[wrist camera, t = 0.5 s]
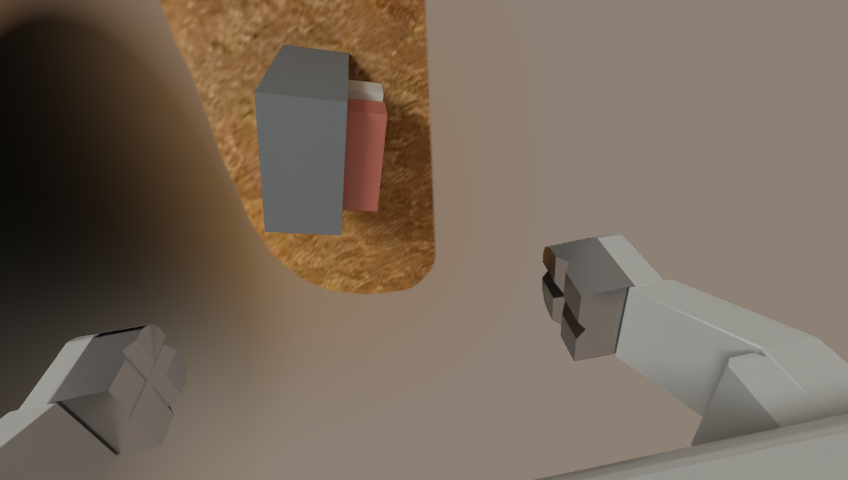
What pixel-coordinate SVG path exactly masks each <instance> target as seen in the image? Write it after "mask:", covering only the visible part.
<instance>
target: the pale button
mask: <svg viewBox="0 0 848 480" xmlns="http://www.w3.org/2000/svg"><path fill="white" fill-rule="evenodd" d="M383 94H384V93H383V88H382V84H381V83H373V82H364V81H356V80H348V98H351V99H360V100H369V101H378V102H383Z"/></svg>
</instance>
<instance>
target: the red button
mask: <svg viewBox="0 0 848 480" xmlns="http://www.w3.org/2000/svg"><path fill="white" fill-rule="evenodd" d="M386 125H387V110H386V104H385V102H378V101H369V100H360V99H351V98H348V103H347V124H346V144H345V165H344V185H343V206H342V209H343V210H360V211H378V201H379V191H380V182H381V172H382V163H383V153H384V144H385V134H386Z"/></svg>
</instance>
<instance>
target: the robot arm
mask: <svg viewBox="0 0 848 480" xmlns="http://www.w3.org/2000/svg"><path fill="white" fill-rule="evenodd" d="M543 263H544V265H545V266H546V268H547V270H548V271H547V272H546V274H545V275H544V276H543V278H542V291H543V296H544V301H545V304H546V307H547V310H548V312H549V314H550V316H551V318H552V320H554V321H555V322H557V323H559V324H561V337H562V339H563V341H564V343H565V345H566V347H567V349H568V351H569V352H570V354H571V356H572V358H573V360H574V361H577V360H583V359H589V358H594V357H600V356H606V355H611V354H616V357H618V358H619V359H621V360H622V361H624V362H625V363H627V364H628V365H629V366H631V367H632V368H633V369H635V370H636V371H638V372H639V373H641V374H642V375H643V376H645V377H646V378H648V379H649V380H651V381H652V382H654V383H655V384H656V385H658V386H659V387H661V388H662V389H663V390H665V391H666V392H668V393H669V394H671V395H672V396H674V397H675V398H676V399H678V400H679V401H680V402H682V403H683V404H685V405H686V406H688V407H689V408H691V409H692V410H693V411H695V412H696V413H698V414H699V415H701V416H702V417H703V418H702V420H701V422H700V425H699V427H698V429H697V431H696V434H695V436H694V438H693V442H692V444H691V446H692V447H687V448H682V449H677V450H673V451H668V452H663V453H659V454H654V455H649V456H644V457H640V458H635V459H631V460H626V461H621V462H616V463H612V464H607V465H602V466H598V467H593V468H588V469H583V470H578V471H574V472H569V473H564V474H560V475H555V476H550V477H545V478H541V479H536V480H848V364H847V363H846V362H845V361H844V360H842V359H841V358H840V357H839V356H838V355H837V354H835V353H834V352H833V351H832V350H831V349H830V348H829V347H827V346H826V345H825V344H824V343H823V342H821V341H820V340H819V339H818V338H816V337H814V336H811V335H809V334H806V333H804V332H801V331H799V330H796V329H794V328H791V327H789V326H786V325H784V324H781V323H779V322H777V321H774V320H772V319H769V318H766V317H764V316H761V315H759V314H757V313H754V312H752V311H749V310H747V309H744V308H741V307H739V306H736V305H734V304H732V303H729V302H727V301H724V300H722V299H719V298H717V297H714V296H712V295H709V294H706V293H704V292H702V291H699V290H697V289H694V288H692V287H689V286H686V285H684V284H682V283H679V282H677V281H674V280H666V281H664V280H663V279H662V278H661V277H660V276H659V275H658V273H657V272H656V271H655V270H654V269H653V268H652V267H651V266H650V265H649V264H648V263H647V262H646V261H645V259H644V258H643V257H642V256H641V255H640V254H639V253H638V252H637V251H636V250H635V249H634V247H632V245H631V244H630V243H629V242H628V241H627V240H626V239H625V238H624V237H623V236H622V235H621V234H620V233H618V232H612V233H607V234H602V235H598V236H593V237H592V238H586V239H581V240H576V241H571V242H566V243H562V244H557V245H552V246H547V247H545V249H544V252H543ZM165 339H166V336H165V334H164V333H163V332H162V331H161V330H160V328H159V327H158V326H156V325H143V326H138V327H132V328H126V329H121V330H115V331H109V332H103V333H100V334H95V335H88V336H83V337H77V338H75V339H73V340H71V341H69V342H68V343H66V345H65V346H64V348H63V349H62V350H61V352H60V353H59V355H58V356H57V357H56V359H55V360H54V361H53V363H52V364H51V366H50V367H49V368H48V370H47V371H46V373H45V374H44V375H43V377H42V378H41V380H40V381H39V382H38V384H37V385H36V386H35V388H34V389H33V391H32V392H31V393H30V395H29V396H28V398H27V399H26V400H25V402H24V403H23V405H22V406H21V407H20V409H19V410H17V411H12V412H9V413H8V414H7V415H5V416H4V417H3V418H1V419H0V480H100V479H101V478H102V477H103V475H104V474H105V473H106V472H107V471H108V470H109V469H110V467H111V466H112V465H113V464H114V463H115V461H116V460H117V459H118V455H122V454H127V453H131V452H135V451H139V450H144V449H148V448H152V447H157V446H161V445H162V444H163V441H164V439H165V436H166V433H167V431H168V428H169V425H170V423H171V420H172V418H173V415H174V413H173V411H172V409H171V407H170V405H171V404H172V403H173V402H174V401H175V400H176V399H177V398H178V397H179V396H180V395H181V394H182V391H183V388H184V385H185V382H186V368H185V364H184V362H183V359H182V357H181V356H180V354H179V353H178V351H177V350H175V349H173V348H170V347H168V346H165V345H164V343H165Z"/></svg>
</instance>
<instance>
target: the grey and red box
mask: <svg viewBox="0 0 848 480" xmlns="http://www.w3.org/2000/svg"><path fill="white" fill-rule="evenodd" d="M348 70H349V53H343V52H335V51H327V50H319V49H312V48H304V47H296V46H288V45H283V46H282V47H281V49H280V51H279V52H278V54H277V56H276V57H275V59H274V61H273V62H272V64H271V66H270V67H269V69H268V71H267V72H266V74H265V76H264V77H263V79H262V81H261V82H260V84H259V86H258V87H257V89H256V91H255V105H256V118H257V131H258V144H259V157H260V170H261V183H262V197H263V210H264V223H265V232H283V233H305V234H327V235H341V226H342V206H343V185H344V165H345V144H346V124H347V103H348Z"/></svg>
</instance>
